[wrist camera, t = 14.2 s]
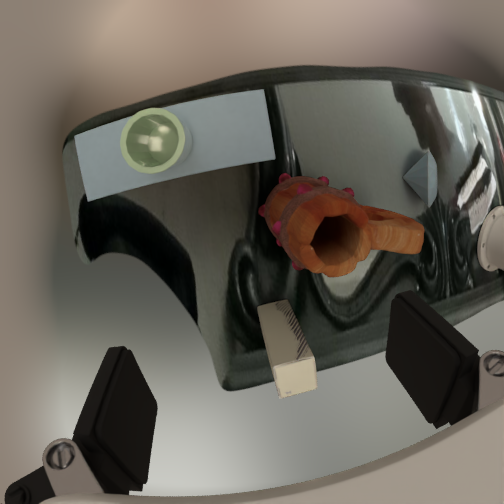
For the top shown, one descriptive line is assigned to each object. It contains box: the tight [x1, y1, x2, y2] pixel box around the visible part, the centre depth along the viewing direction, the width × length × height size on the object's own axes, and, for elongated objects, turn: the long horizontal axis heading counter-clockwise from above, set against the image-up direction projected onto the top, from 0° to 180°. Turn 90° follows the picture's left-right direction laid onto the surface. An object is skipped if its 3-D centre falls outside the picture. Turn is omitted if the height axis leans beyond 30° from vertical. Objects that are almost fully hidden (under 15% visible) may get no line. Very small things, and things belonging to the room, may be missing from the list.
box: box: [257, 300, 317, 398], centre depth 34 cm, size 5×4×13 cm
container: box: [74, 89, 275, 201], centre depth 27 cm, size 16×6×10 cm, turn 100°
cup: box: [120, 108, 193, 174], centre depth 19 cm, size 4×4×6 cm
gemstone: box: [402, 151, 437, 207], centre depth 34 cm, size 8×8×5 cm
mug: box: [258, 173, 424, 277], centre depth 29 cm, size 15×8×15 cm, turn 88°
